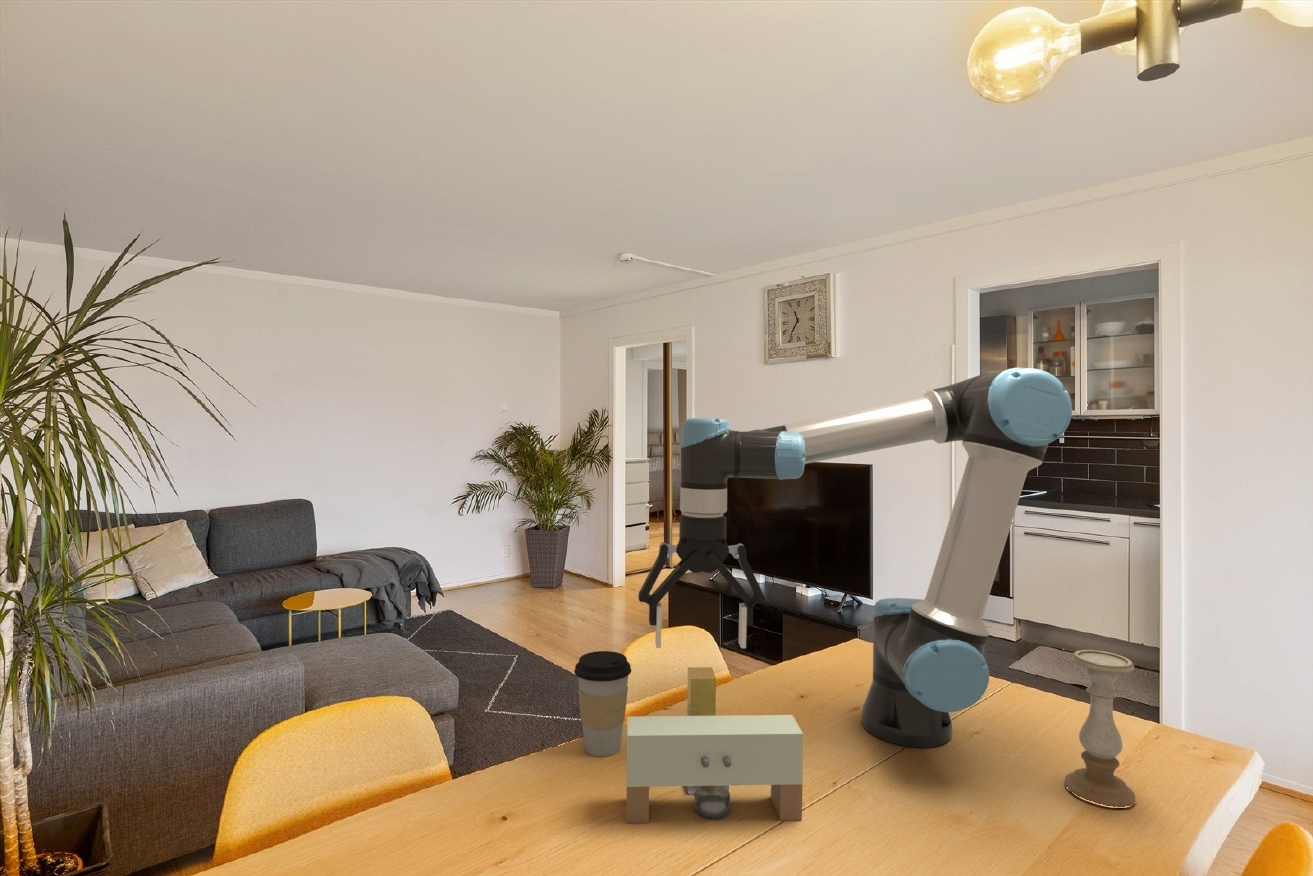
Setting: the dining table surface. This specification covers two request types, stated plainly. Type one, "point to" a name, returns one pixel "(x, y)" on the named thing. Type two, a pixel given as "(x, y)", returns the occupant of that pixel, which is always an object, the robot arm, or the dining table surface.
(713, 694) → the blade tool
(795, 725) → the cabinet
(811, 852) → the dining table surface
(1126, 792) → the candle holder
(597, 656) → the coffee cup
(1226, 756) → the dining table surface
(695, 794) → the dark grey metallic disc
